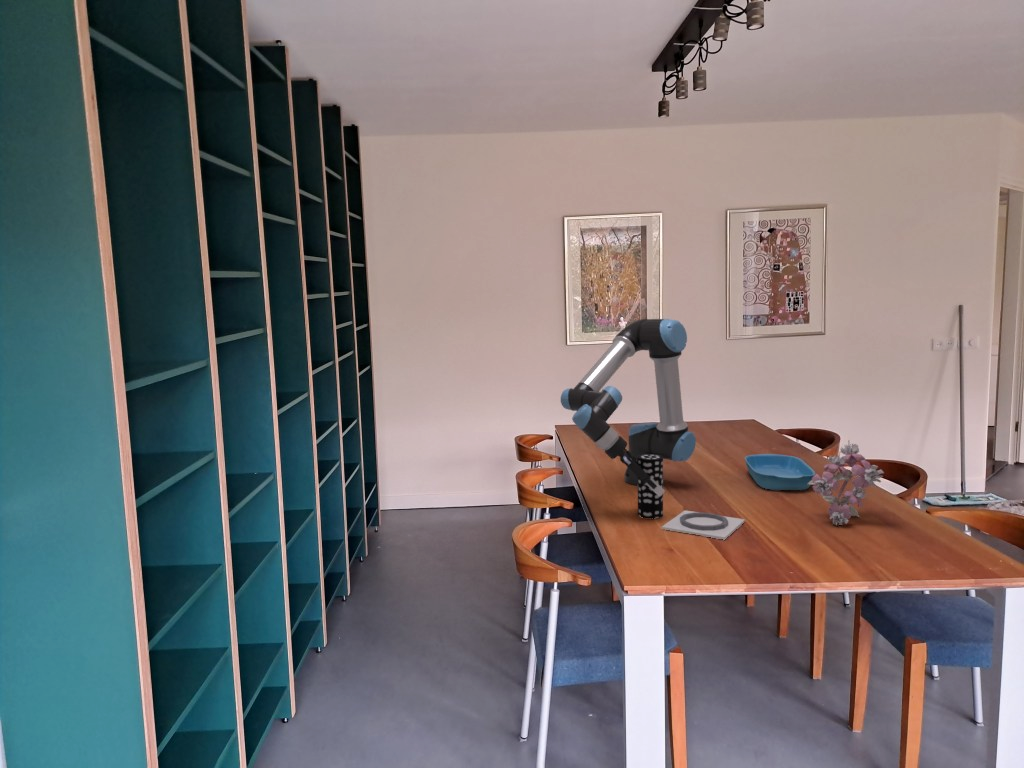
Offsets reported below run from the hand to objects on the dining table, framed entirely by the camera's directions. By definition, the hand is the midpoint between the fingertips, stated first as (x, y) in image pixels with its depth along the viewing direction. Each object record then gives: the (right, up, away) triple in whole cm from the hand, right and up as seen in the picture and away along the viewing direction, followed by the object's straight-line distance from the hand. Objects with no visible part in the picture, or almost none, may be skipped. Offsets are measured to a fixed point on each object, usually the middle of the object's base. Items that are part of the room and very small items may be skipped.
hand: (660, 490), depth 241 cm
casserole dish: (+54, -3, +41) cm, 68 cm away
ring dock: (+12, -10, -11) cm, 19 cm away
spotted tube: (-3, -9, +1) cm, 9 cm away
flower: (+56, -9, -9) cm, 58 cm away
